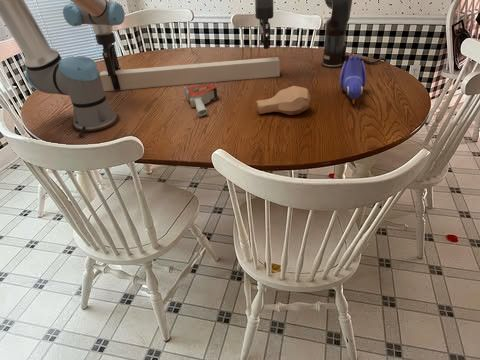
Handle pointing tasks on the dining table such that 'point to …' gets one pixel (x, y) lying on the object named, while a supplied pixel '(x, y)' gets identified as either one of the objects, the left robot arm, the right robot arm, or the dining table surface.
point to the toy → (353, 77)
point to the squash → (286, 101)
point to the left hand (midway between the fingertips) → (118, 86)
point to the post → (193, 73)
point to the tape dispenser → (201, 97)
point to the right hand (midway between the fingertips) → (264, 45)
